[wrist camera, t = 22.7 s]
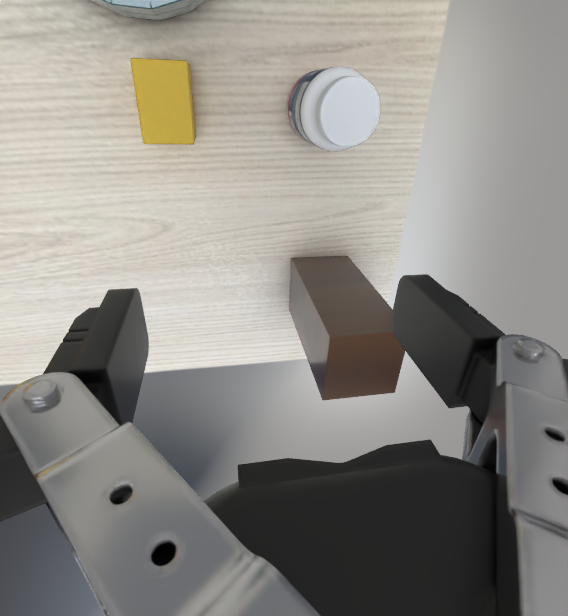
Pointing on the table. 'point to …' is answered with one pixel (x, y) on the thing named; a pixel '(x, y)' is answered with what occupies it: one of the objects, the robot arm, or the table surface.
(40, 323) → the table surface
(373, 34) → the table surface
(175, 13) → the bowl
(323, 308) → the stand
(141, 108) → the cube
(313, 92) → the pill bottle
